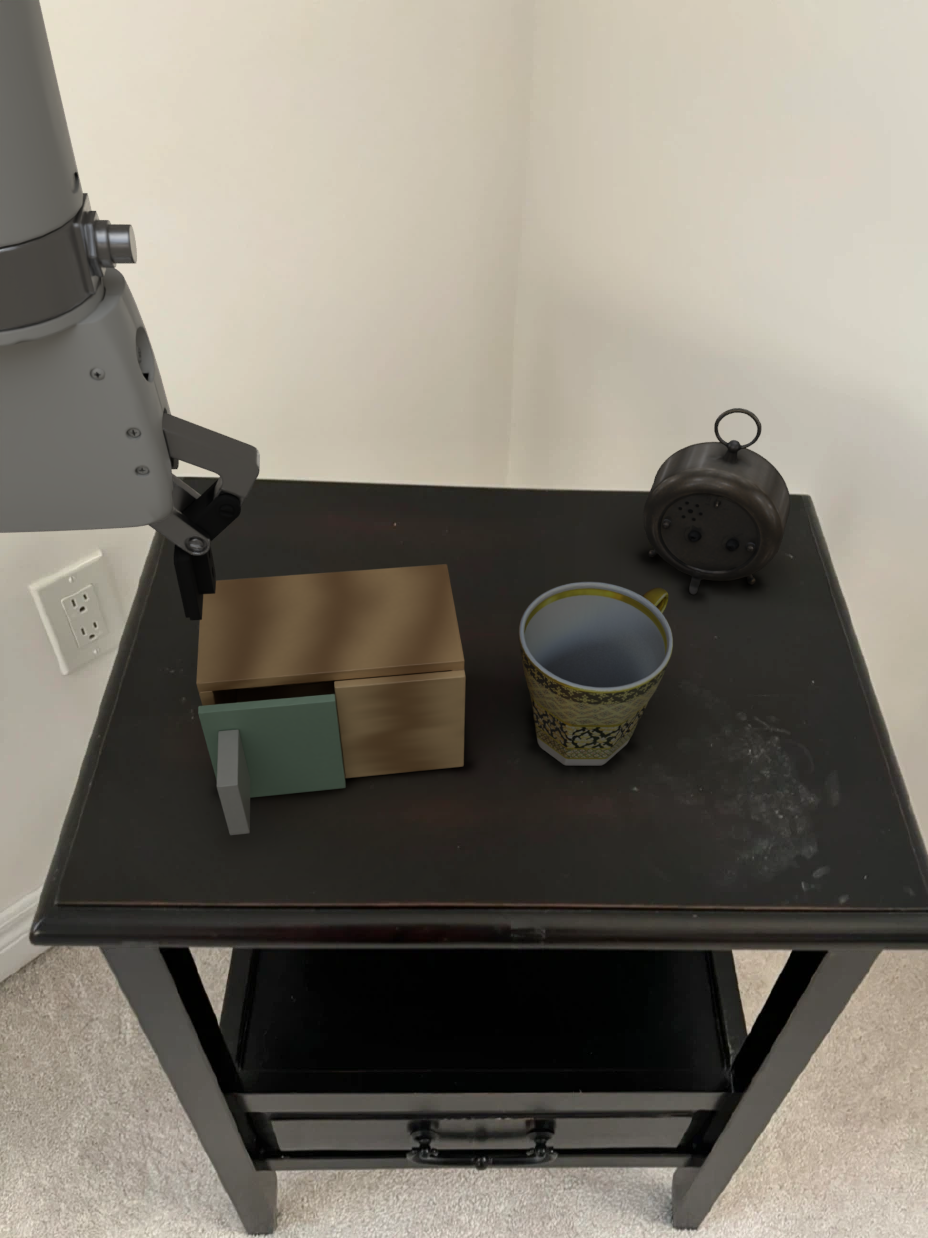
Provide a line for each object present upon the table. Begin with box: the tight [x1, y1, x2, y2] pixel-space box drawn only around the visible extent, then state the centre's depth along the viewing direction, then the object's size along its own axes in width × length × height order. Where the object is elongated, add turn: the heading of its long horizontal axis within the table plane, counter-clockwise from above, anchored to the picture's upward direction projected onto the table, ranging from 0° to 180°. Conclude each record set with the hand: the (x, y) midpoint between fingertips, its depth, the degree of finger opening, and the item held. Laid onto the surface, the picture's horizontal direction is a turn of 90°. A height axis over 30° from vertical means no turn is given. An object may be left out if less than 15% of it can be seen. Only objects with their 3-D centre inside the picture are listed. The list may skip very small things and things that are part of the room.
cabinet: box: [196, 563, 467, 779], centre depth 69 cm, size 16×10×11 cm, turn 99°
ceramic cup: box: [518, 581, 674, 767], centre depth 71 cm, size 13×10×10 cm
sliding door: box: [197, 694, 347, 836], centre depth 63 cm, size 8×5×9 cm, turn 99°
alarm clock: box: [642, 407, 791, 595], centre depth 79 cm, size 11×5×16 cm, turn 71°
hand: (92, 605), depth 49 cm, fingers open, 9 cm apart
